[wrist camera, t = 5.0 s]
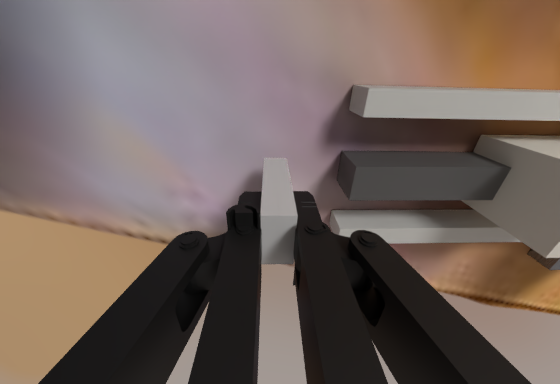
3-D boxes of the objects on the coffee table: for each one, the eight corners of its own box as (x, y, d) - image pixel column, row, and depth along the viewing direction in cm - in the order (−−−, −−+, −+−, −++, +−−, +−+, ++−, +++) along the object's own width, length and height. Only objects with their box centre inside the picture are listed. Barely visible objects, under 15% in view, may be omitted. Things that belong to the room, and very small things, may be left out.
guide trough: (329, 224, 19) (337, 244, 17) (353, 84, 14) (369, 87, 11) (562, 222, 20) (598, 241, 18) (670, 93, 15) (739, 97, 13)
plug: (334, 194, 18) (368, 260, 11) (345, 132, 15) (395, 175, 9) (519, 194, 18) (643, 256, 12) (558, 135, 16) (737, 176, 10)
